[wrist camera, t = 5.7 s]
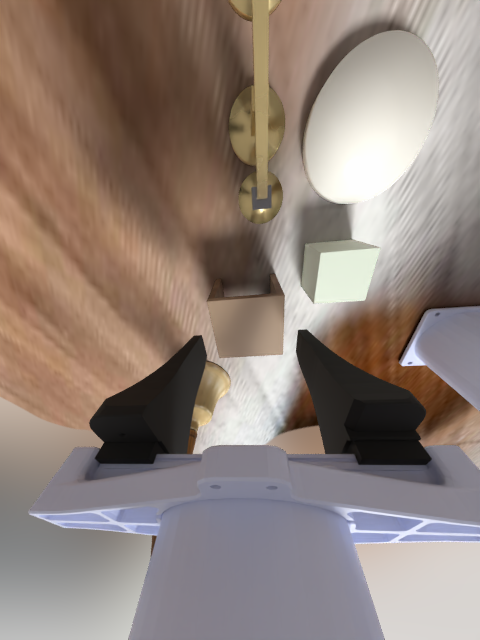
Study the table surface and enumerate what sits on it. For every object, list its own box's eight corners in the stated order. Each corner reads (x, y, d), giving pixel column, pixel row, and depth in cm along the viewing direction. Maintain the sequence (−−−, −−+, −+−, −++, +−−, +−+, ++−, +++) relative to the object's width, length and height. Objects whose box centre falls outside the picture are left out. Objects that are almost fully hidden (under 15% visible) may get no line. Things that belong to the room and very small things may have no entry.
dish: (448, 33, 10) (467, 17, 9) (397, 198, 14) (407, 197, 13) (308, 57, 10) (313, 43, 10) (298, 209, 14) (301, 209, 14)
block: (351, 239, 16) (380, 247, 12) (341, 282, 18) (364, 300, 14) (304, 243, 16) (320, 253, 12) (301, 285, 18) (313, 303, 15)
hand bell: (213, 352, 23) (166, 558, 9) (239, 390, 27) (233, 574, 13) (161, 369, 25) (61, 560, 11) (193, 402, 29) (146, 573, 15)
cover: (275, 273, 17) (284, 295, 13) (274, 323, 20) (282, 354, 16) (216, 279, 18) (206, 301, 13) (224, 327, 21) (219, 358, 16)
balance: (286, -20, 9) (332, -281, 4) (280, 219, 15) (297, 224, 10) (217, -6, 9) (186, -236, 5) (237, 223, 15) (233, 231, 10)
